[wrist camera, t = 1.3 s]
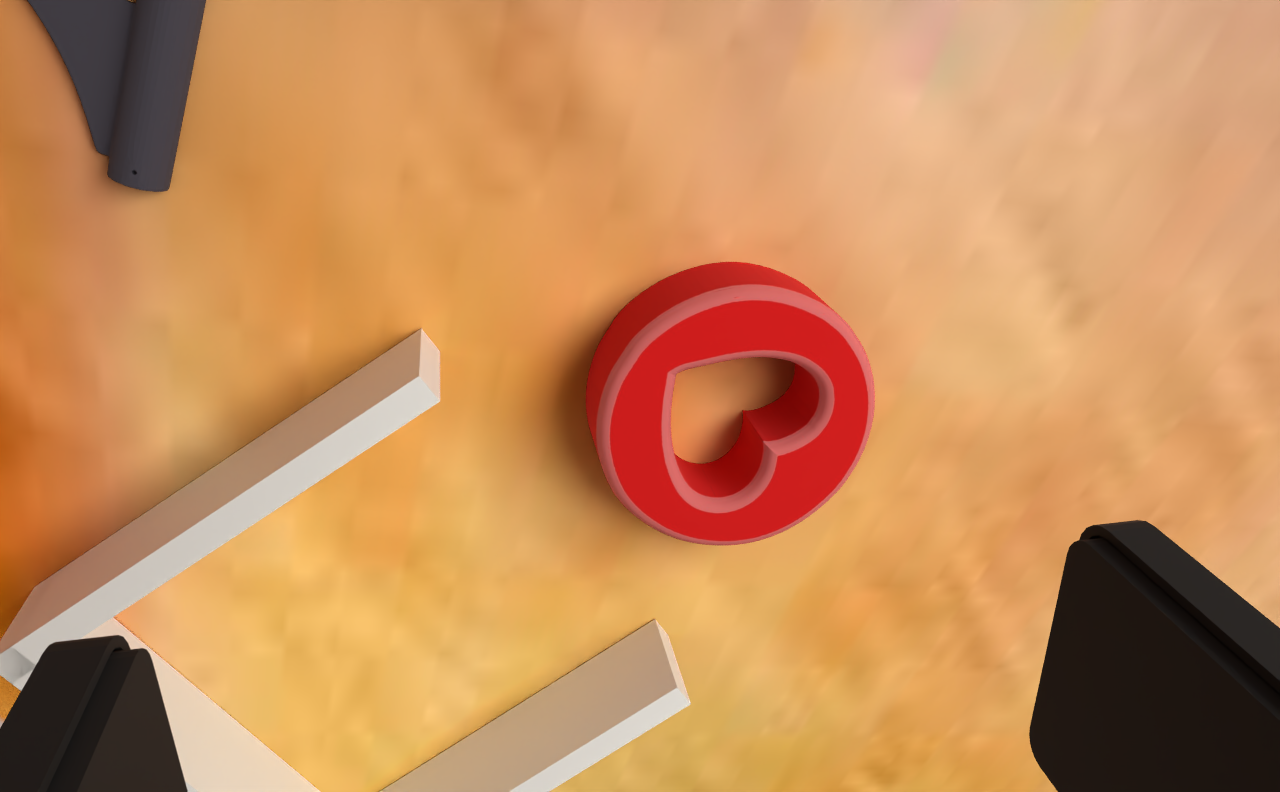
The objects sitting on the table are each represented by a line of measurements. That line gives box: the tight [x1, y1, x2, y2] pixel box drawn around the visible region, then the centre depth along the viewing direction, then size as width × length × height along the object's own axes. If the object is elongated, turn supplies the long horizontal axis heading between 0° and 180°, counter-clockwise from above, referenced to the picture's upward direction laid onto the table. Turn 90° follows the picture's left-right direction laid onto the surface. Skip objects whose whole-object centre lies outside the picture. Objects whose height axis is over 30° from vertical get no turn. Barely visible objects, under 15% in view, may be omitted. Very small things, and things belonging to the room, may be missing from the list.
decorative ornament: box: [586, 262, 875, 545], centre depth 34 cm, size 10×10×3 cm
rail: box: [0, 328, 691, 792], centre depth 34 cm, size 16×16×4 cm
